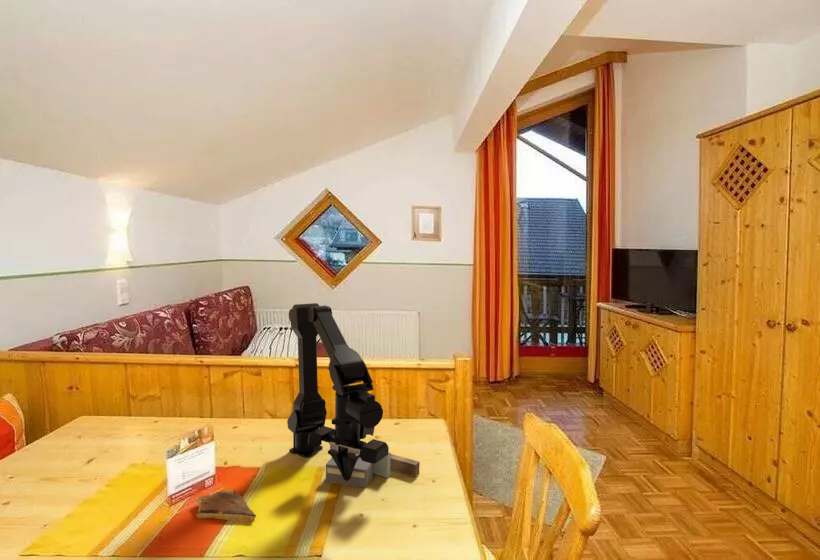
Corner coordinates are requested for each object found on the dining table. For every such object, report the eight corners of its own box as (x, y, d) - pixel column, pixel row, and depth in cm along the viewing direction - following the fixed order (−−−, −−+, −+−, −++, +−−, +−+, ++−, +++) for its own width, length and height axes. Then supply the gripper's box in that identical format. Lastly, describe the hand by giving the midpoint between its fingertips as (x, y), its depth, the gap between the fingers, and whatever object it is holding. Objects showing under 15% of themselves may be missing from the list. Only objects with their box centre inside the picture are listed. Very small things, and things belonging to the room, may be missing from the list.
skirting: (354, 459, 121) (354, 447, 121) (358, 456, 123) (358, 445, 123) (415, 477, 113) (415, 465, 112) (419, 473, 114) (419, 461, 114)
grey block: (325, 483, 110) (325, 464, 109) (334, 472, 115) (334, 454, 114) (365, 489, 107) (366, 470, 107) (372, 478, 112) (373, 460, 112)
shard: (256, 524, 94) (256, 513, 93) (207, 541, 88) (207, 530, 88) (235, 495, 104) (235, 486, 104) (190, 509, 98) (190, 499, 98)
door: (351, 465, 118) (351, 442, 117) (357, 461, 120) (357, 439, 119) (387, 478, 112) (387, 453, 111) (392, 473, 114) (393, 450, 114)
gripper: (401, 410, 108) (400, 475, 109) (337, 396, 117) (336, 456, 118) (375, 426, 98) (374, 497, 100) (307, 409, 107) (306, 475, 109)
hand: (347, 479), depth 107 cm, fingers closed
